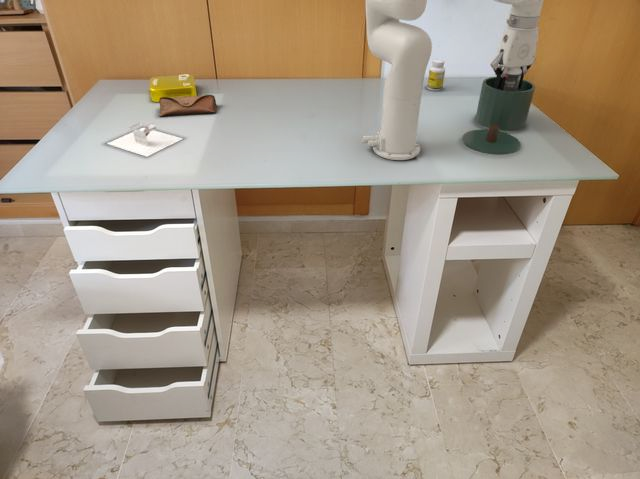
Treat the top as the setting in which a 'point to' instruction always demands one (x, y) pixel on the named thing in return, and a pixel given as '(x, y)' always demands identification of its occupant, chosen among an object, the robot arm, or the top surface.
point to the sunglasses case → (187, 105)
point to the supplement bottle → (436, 75)
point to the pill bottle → (512, 79)
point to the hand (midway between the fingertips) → (507, 88)
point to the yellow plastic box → (172, 86)
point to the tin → (504, 105)
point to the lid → (491, 141)
